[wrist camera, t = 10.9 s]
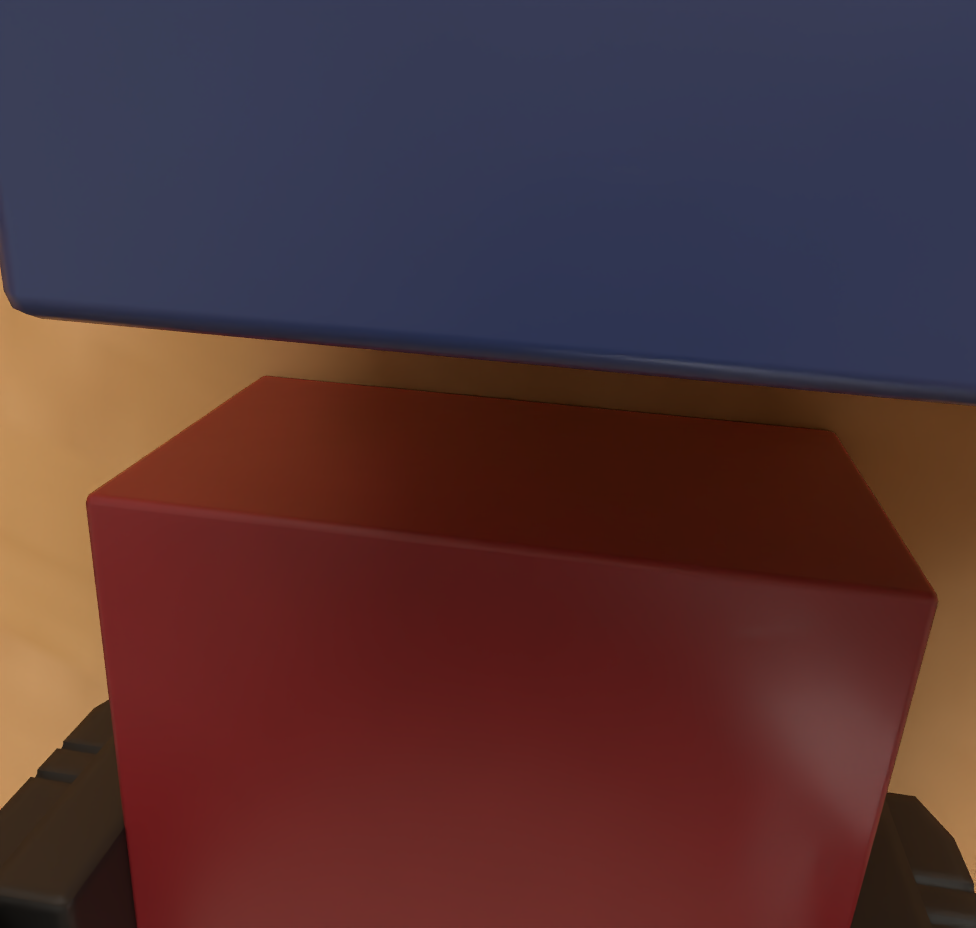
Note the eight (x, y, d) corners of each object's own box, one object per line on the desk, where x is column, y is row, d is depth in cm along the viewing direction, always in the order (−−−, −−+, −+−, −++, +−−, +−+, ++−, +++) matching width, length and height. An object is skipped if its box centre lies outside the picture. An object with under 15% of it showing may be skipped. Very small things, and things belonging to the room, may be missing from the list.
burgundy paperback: (259, 373, 9) (76, 494, 6) (839, 429, 8) (948, 598, 5) (282, 954, 12) (166, 1227, 9) (714, 1032, 11) (741, 1355, 8)
